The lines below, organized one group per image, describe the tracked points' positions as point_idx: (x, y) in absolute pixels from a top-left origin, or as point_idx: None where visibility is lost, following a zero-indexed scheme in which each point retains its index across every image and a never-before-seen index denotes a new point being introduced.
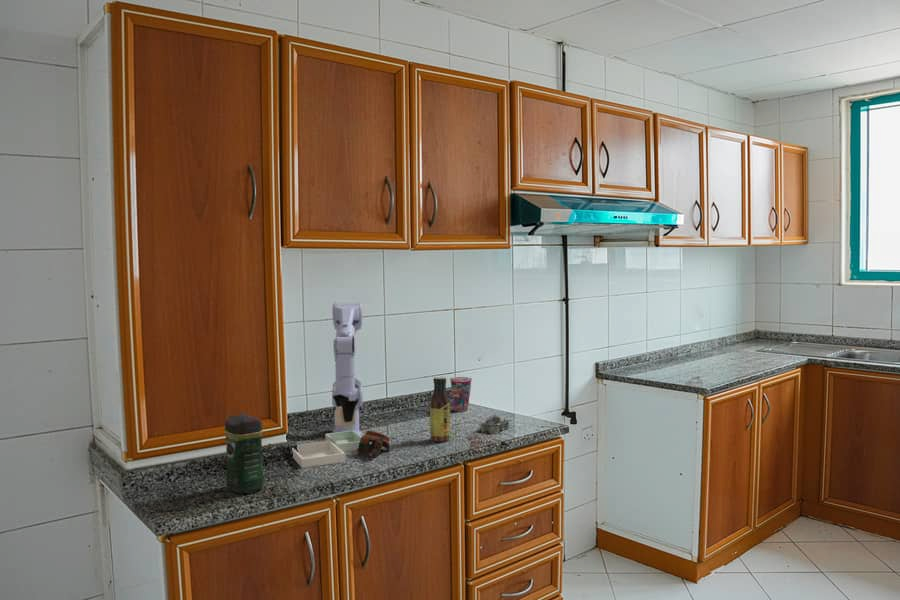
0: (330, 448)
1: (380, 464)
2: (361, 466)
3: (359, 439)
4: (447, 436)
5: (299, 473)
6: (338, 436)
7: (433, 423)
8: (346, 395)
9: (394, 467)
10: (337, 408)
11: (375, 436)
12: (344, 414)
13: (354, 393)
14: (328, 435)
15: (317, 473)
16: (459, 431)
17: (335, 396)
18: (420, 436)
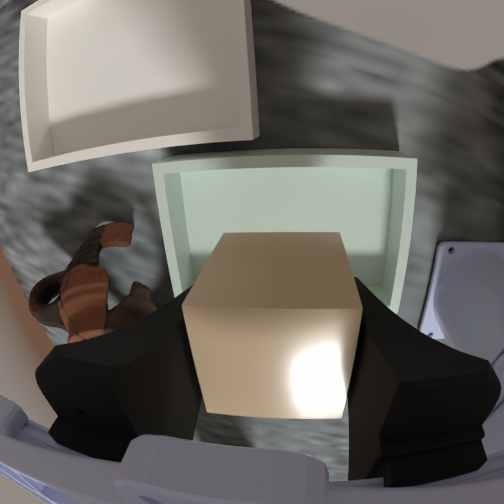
0: (213, 129)
1: (41, 266)
2: (30, 209)
3: None
4: None
5: None
6: (395, 225)
7: None
8: (7, 442)
9: (22, 287)
10: (309, 302)
11: (67, 327)
12: (168, 303)
13: (22, 487)
14: (371, 162)
15: (10, 69)
16: None
17: (434, 405)
18: (293, 446)
